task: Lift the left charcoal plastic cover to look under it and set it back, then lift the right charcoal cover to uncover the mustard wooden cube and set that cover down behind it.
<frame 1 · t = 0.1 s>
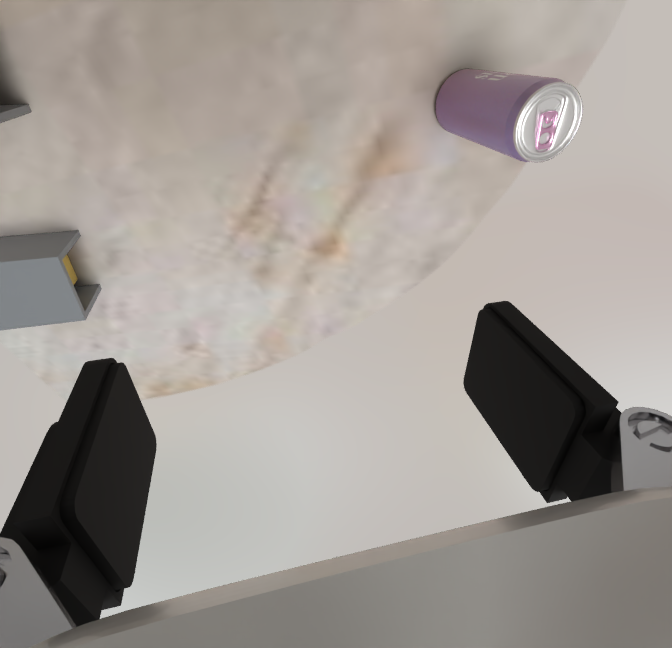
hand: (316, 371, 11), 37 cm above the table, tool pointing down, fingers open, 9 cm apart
beverage can: (458, 101, 43), on the table
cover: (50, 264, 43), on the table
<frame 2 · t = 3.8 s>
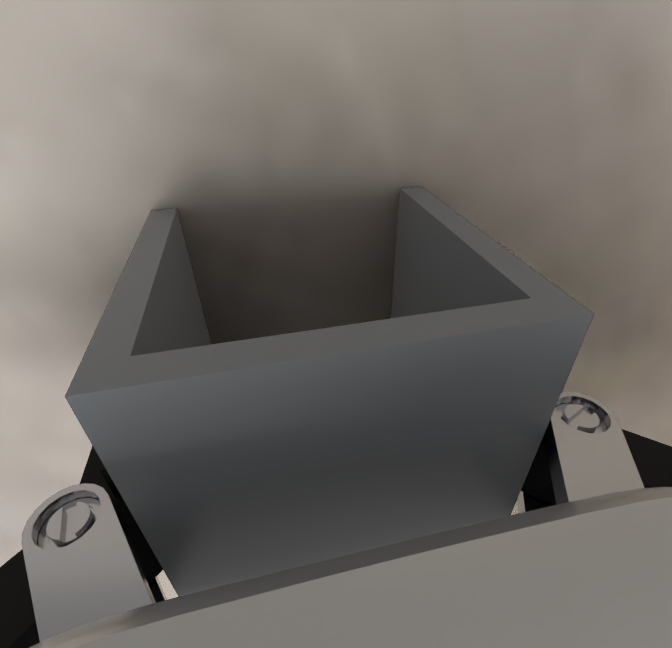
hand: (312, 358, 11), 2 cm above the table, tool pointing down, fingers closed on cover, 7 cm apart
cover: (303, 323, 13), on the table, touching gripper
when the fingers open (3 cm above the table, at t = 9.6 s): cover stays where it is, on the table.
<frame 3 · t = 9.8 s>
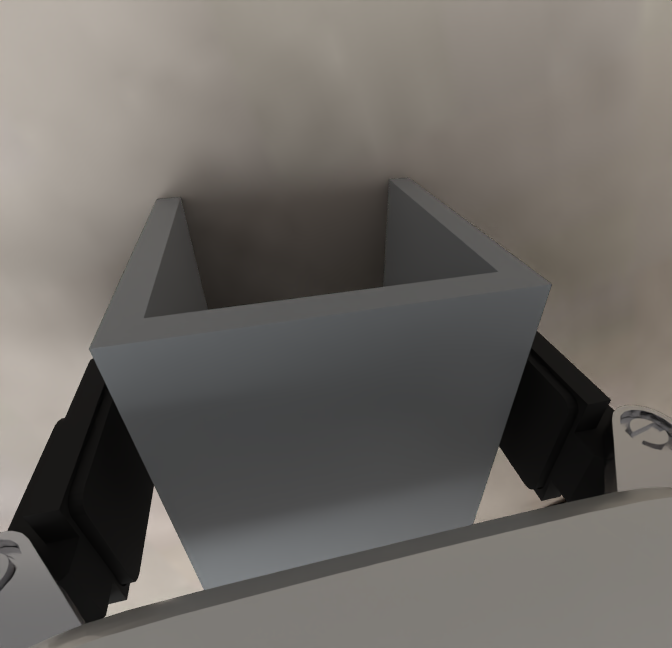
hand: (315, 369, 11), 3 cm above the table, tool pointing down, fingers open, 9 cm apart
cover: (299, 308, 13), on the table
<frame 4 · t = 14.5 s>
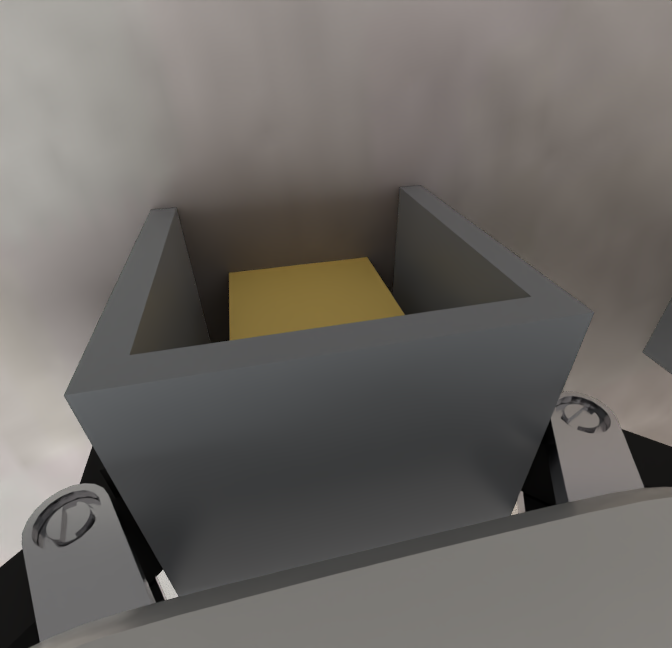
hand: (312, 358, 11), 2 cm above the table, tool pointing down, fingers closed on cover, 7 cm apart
cube: (303, 320, 13), on the table
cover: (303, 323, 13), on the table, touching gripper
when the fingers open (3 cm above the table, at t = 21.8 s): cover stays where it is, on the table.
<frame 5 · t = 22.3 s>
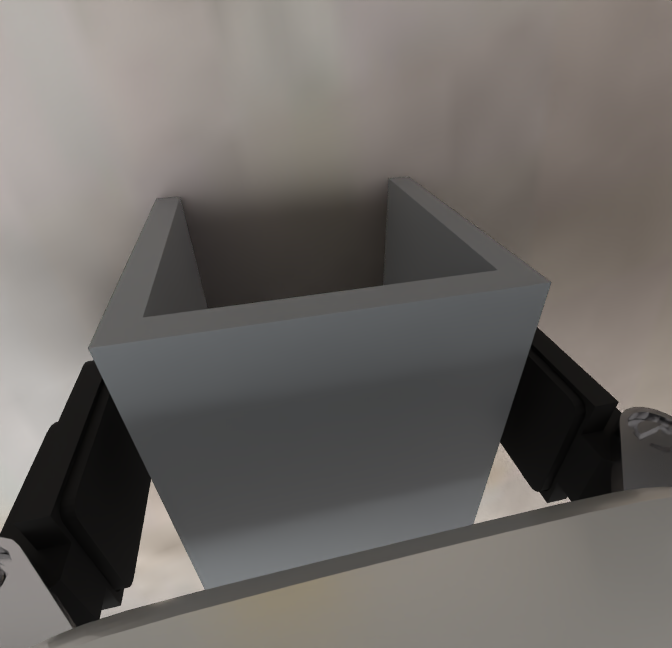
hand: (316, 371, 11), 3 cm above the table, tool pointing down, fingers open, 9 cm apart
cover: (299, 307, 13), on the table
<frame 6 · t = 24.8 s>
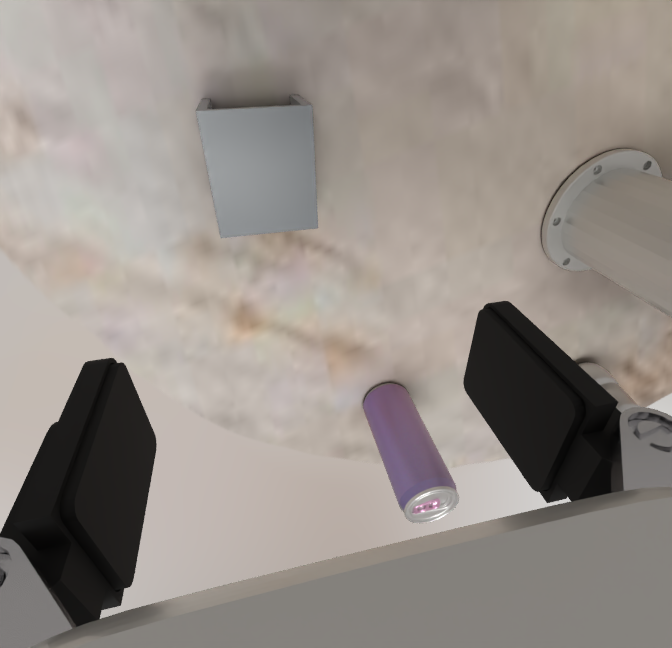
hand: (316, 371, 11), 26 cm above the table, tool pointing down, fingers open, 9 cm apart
beverage can: (383, 397, 51), on the table
plastic bottle: (572, 373, 57), on the table
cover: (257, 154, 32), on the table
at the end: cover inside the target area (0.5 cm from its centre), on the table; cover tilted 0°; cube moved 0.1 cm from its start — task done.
